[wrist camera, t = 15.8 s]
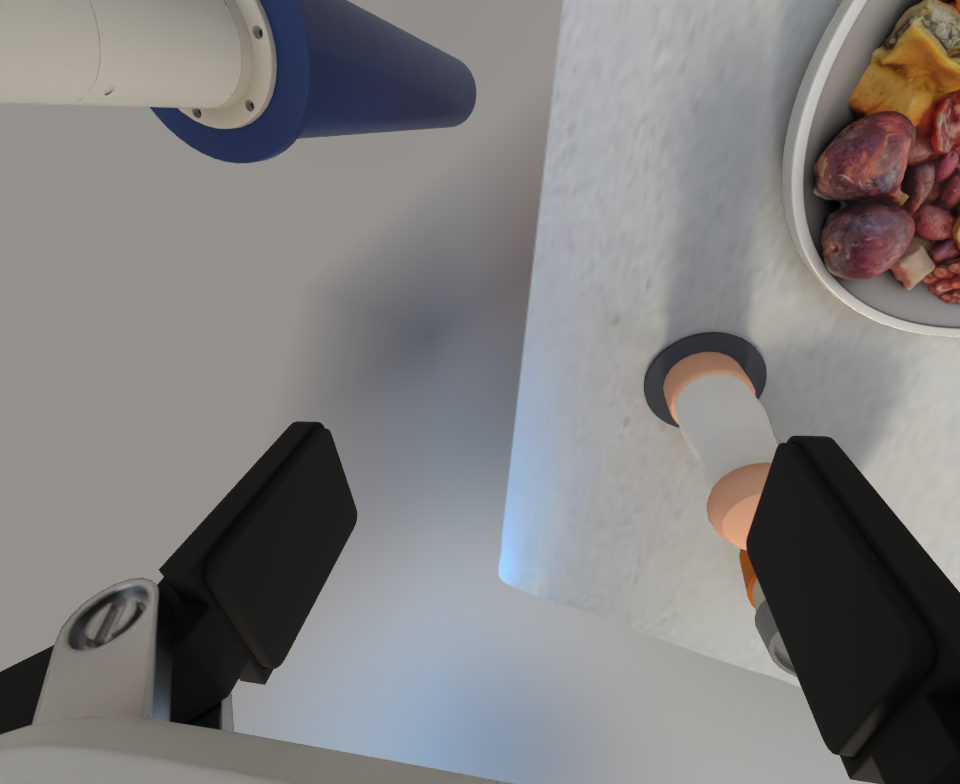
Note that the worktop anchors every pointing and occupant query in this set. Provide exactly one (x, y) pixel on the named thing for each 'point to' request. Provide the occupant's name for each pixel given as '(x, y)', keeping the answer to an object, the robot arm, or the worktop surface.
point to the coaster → (697, 344)
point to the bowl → (881, 163)
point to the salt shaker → (723, 436)
